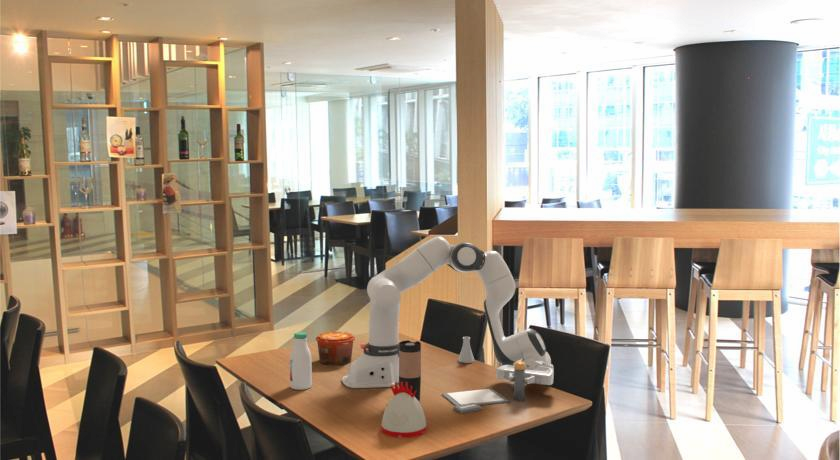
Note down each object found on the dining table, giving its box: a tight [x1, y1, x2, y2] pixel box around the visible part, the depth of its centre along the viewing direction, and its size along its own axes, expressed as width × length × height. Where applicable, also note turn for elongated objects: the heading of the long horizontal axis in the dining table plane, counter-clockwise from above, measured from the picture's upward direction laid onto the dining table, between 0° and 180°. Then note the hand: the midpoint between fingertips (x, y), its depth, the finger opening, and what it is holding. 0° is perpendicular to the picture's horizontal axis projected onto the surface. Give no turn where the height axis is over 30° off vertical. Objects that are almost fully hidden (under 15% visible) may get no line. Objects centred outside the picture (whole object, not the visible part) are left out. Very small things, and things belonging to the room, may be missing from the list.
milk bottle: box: [289, 331, 313, 391], centre depth 278 cm, size 8×8×20 cm
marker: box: [513, 361, 526, 402], centre depth 265 cm, size 4×4×13 cm
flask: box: [457, 336, 476, 364], centre depth 315 cm, size 7×7×10 cm
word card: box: [453, 403, 483, 414], centre depth 255 cm, size 8×5×1 cm, turn 119°
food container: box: [315, 331, 356, 366], centre depth 314 cm, size 16×16×11 cm
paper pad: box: [441, 388, 510, 406], centre depth 267 cm, size 19×15×1 cm
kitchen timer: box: [380, 382, 427, 439], centre depth 236 cm, size 14×14×15 cm
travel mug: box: [398, 340, 422, 401], centre depth 264 cm, size 8×8×20 cm
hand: (518, 380), depth 264 cm, fingers open, 4 cm apart
